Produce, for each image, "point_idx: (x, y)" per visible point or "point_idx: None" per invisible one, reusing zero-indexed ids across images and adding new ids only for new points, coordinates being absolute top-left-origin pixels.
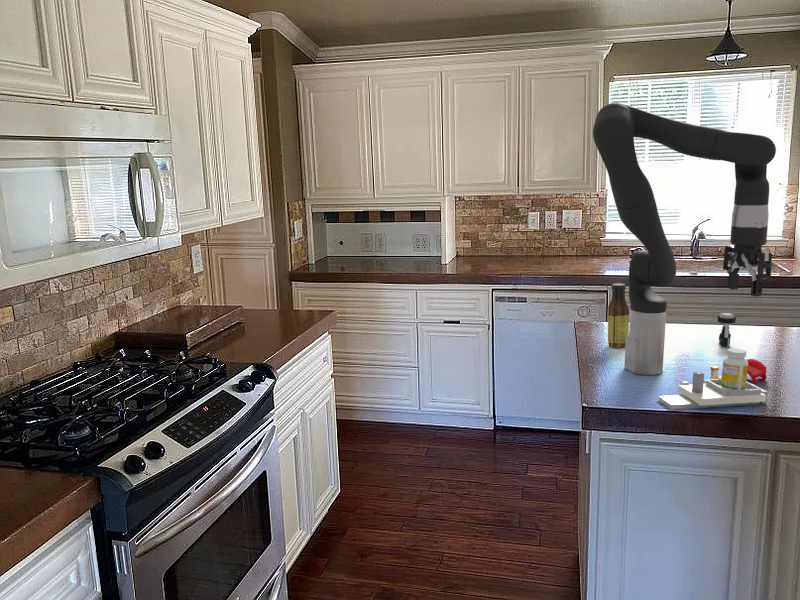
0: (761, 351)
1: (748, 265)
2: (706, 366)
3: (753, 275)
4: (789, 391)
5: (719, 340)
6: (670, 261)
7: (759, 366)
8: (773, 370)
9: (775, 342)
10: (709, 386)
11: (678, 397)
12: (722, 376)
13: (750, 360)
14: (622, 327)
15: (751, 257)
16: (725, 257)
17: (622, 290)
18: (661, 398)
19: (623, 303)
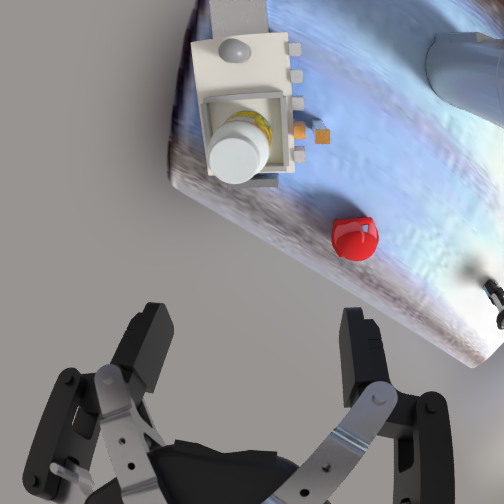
0: (449, 312)
1: (112, 445)
2: (441, 200)
3: (107, 388)
4: (287, 248)
5: (498, 285)
6: None
7: (338, 245)
8: (383, 284)
9: (460, 340)
10: (267, 91)
11: (252, 21)
12: (248, 114)
13: (354, 241)
14: None
15: (107, 497)
16: (439, 475)
17: None
18: None
19: None
